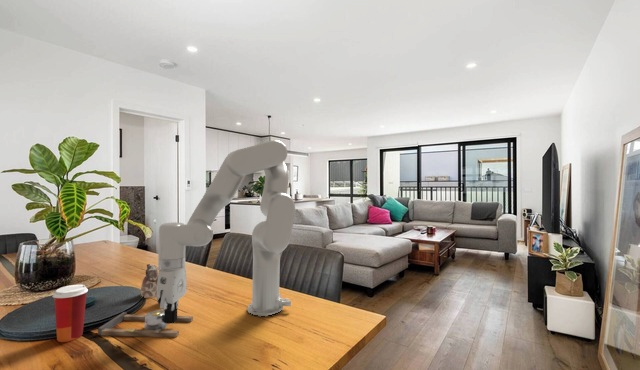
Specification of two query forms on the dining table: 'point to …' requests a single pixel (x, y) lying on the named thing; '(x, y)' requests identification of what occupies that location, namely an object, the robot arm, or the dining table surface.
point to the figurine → (150, 282)
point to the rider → (155, 320)
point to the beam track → (136, 332)
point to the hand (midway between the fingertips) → (170, 322)
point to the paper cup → (70, 312)
